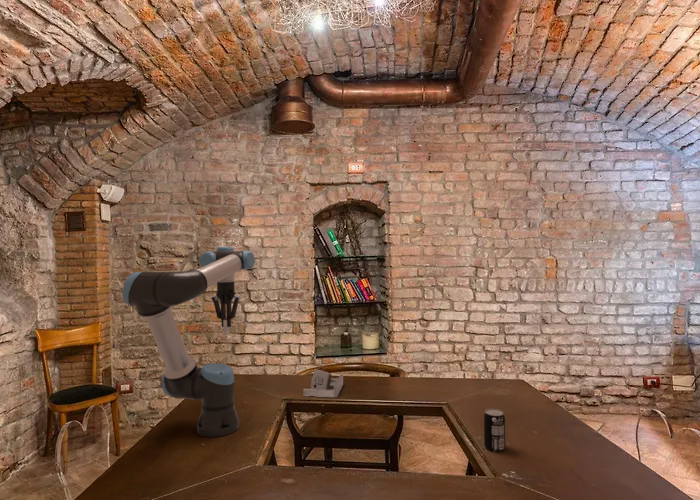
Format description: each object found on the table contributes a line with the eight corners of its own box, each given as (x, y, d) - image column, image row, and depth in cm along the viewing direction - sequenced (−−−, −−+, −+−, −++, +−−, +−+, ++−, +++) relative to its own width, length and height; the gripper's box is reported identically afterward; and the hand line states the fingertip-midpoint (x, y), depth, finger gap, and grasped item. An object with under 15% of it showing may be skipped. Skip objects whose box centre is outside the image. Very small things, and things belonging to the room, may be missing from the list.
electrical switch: (310, 389, 207) (311, 369, 208) (317, 388, 211) (318, 368, 212) (324, 393, 201) (326, 373, 202) (332, 391, 205) (333, 371, 206)
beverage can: (488, 441, 149) (488, 406, 149) (508, 447, 145) (507, 411, 145) (481, 448, 144) (480, 412, 144) (500, 454, 140) (500, 417, 140)
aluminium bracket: (336, 397, 196) (336, 386, 196) (303, 396, 198) (303, 385, 198) (343, 384, 213) (343, 374, 213) (312, 383, 216) (312, 373, 216)
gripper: (242, 280, 197) (243, 332, 197) (215, 280, 199) (216, 332, 199) (236, 281, 190) (236, 336, 190) (208, 282, 192) (208, 335, 192)
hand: (226, 334), depth 194 cm, fingers closed
